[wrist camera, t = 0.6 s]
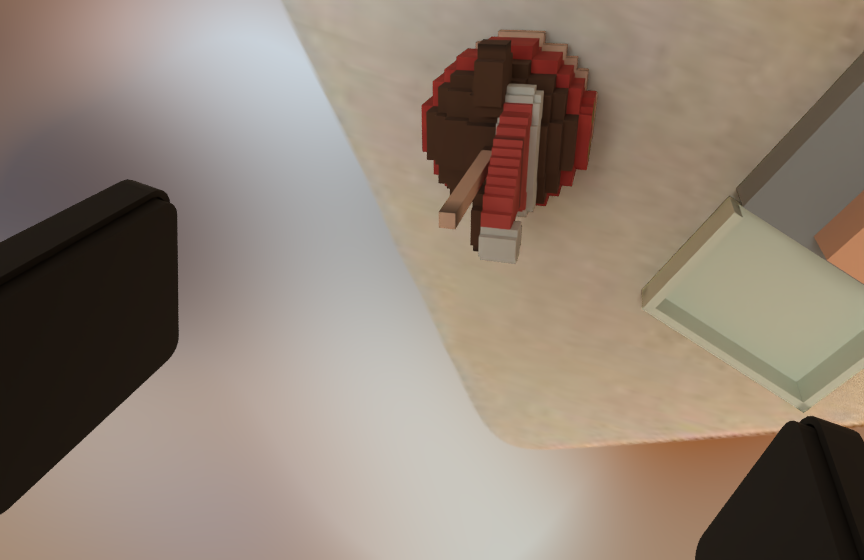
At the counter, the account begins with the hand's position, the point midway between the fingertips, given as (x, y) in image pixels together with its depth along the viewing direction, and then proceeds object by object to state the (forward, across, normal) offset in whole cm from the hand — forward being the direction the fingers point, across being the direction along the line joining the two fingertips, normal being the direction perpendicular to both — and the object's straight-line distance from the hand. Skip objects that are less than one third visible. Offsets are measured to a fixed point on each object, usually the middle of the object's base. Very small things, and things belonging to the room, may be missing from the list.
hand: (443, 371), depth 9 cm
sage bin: (+32, -16, +12) cm, 38 cm away
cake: (+33, +3, +5) cm, 33 cm away
